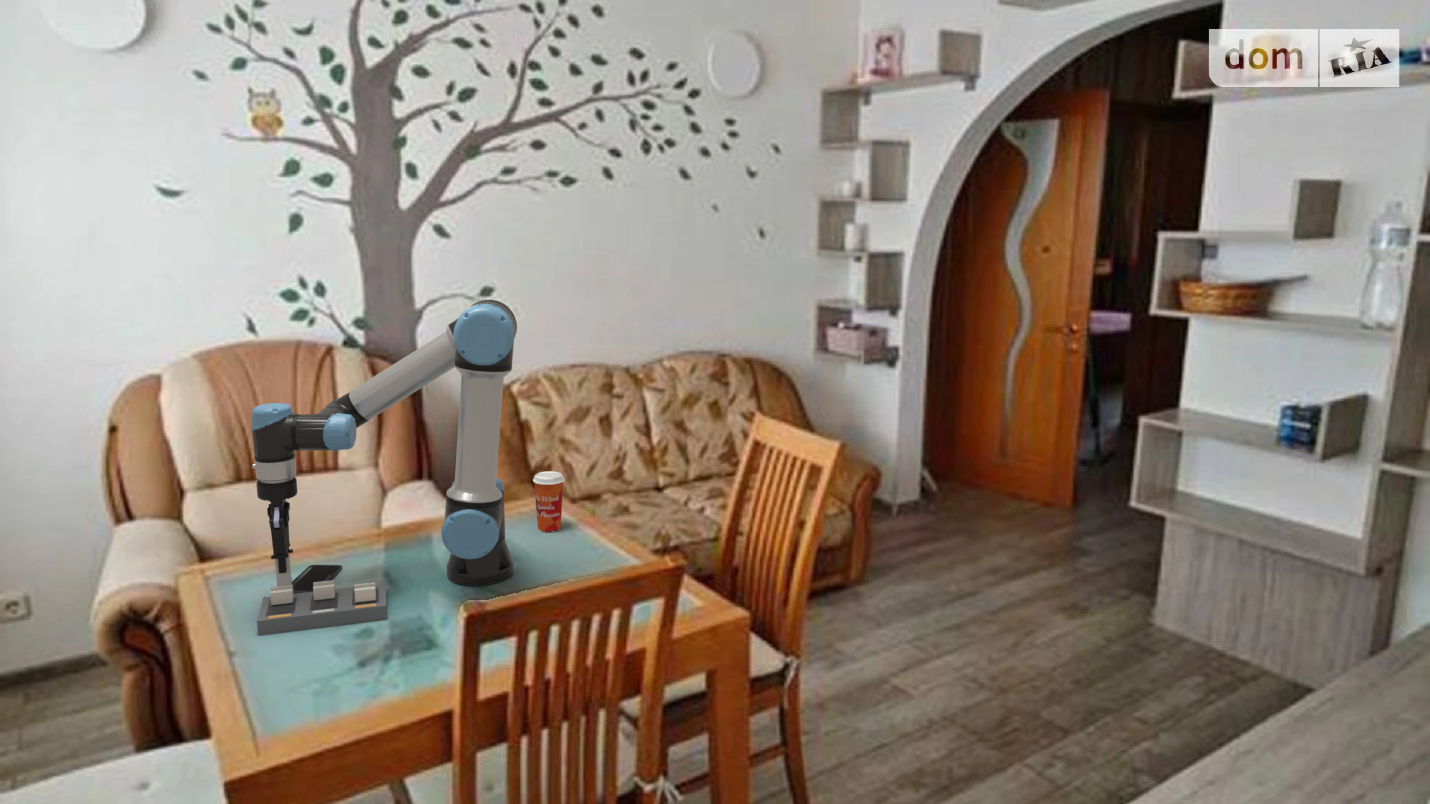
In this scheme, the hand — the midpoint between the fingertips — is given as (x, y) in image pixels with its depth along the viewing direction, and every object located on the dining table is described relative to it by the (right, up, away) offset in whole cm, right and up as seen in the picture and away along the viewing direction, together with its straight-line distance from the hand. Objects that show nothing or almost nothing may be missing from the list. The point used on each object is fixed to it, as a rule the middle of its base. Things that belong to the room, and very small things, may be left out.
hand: (284, 585), depth 193 cm
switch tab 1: (+2, -2, -5) cm, 6 cm away
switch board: (+10, -6, -4) cm, 12 cm away
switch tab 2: (+10, -2, -2) cm, 10 cm away
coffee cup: (+47, +5, +51) cm, 70 cm away
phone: (0, -2, +14) cm, 14 cm away
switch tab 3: (+18, -2, -3) cm, 19 cm away
